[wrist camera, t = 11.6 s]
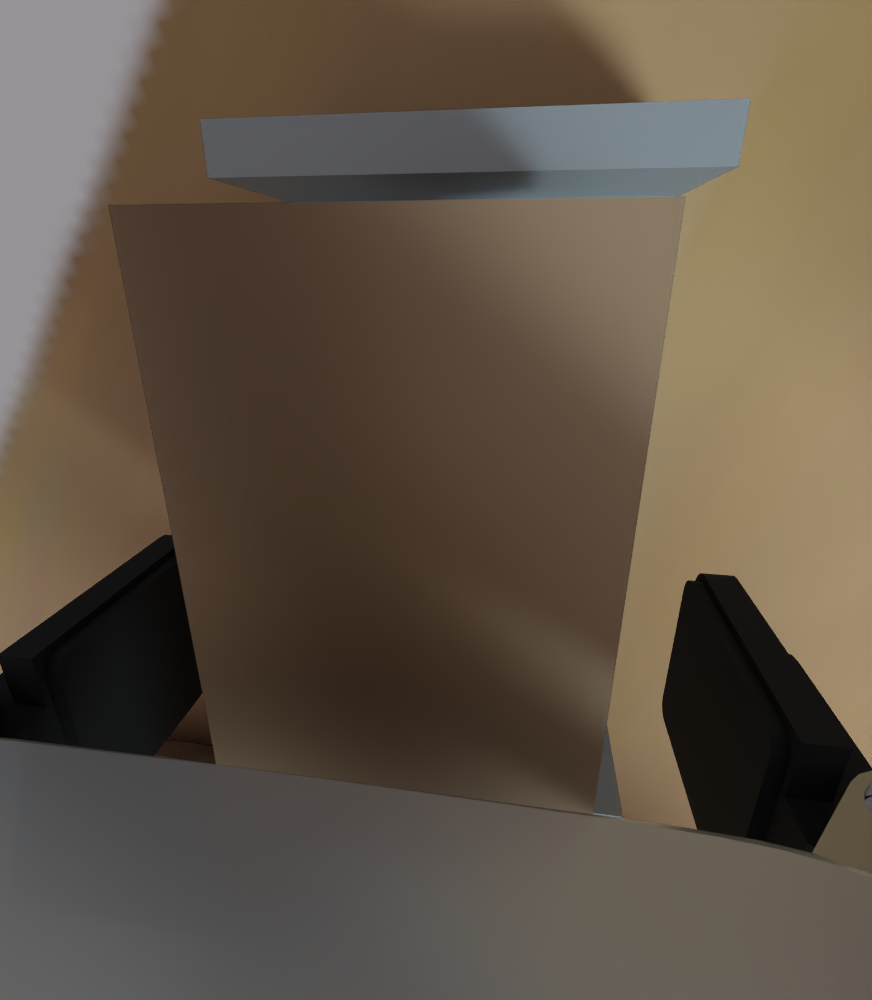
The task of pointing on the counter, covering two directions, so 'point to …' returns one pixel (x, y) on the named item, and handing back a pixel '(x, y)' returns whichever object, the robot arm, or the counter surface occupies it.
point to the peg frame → (484, 170)
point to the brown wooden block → (405, 474)
